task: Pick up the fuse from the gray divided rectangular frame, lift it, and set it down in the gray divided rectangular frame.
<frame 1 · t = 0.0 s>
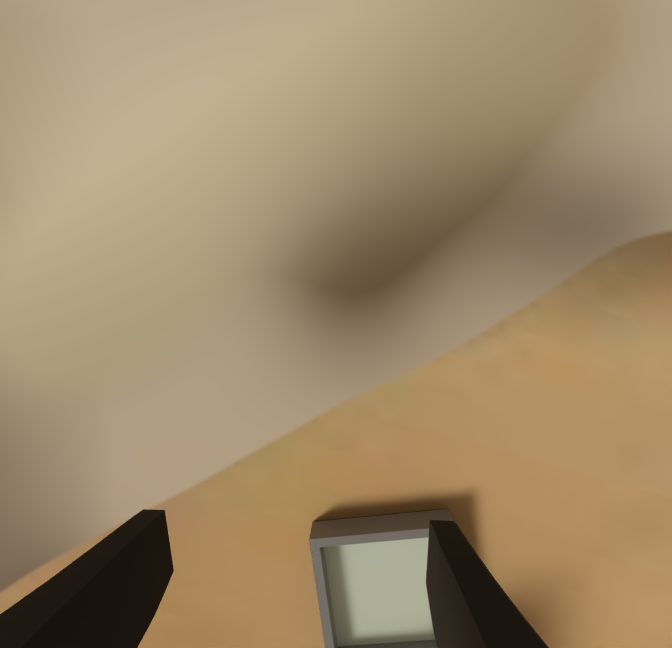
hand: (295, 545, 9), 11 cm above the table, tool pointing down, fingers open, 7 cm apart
gray divided rectangular frame: (396, 639, 20), on the table
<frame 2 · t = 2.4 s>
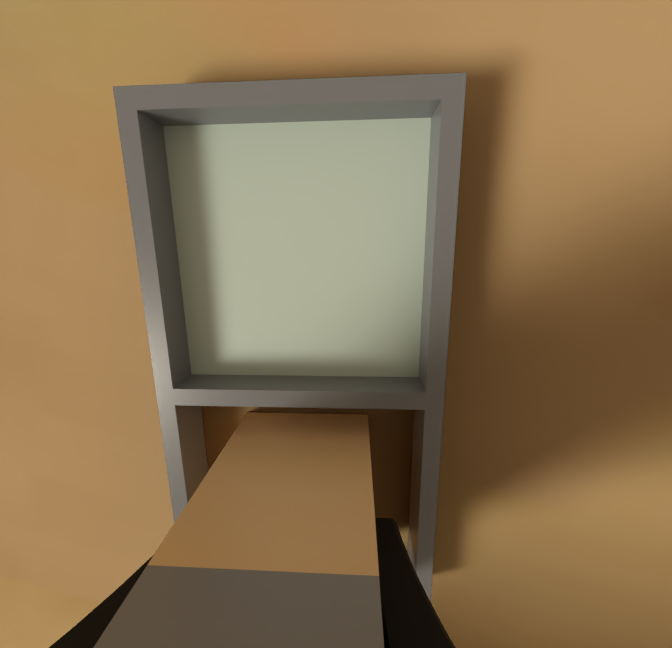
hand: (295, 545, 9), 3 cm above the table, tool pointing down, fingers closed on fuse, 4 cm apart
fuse: (308, 479, 12), resting in gray divided rectangular frame, touching gripper
gray divided rectangular frame: (304, 378, 11), on the table
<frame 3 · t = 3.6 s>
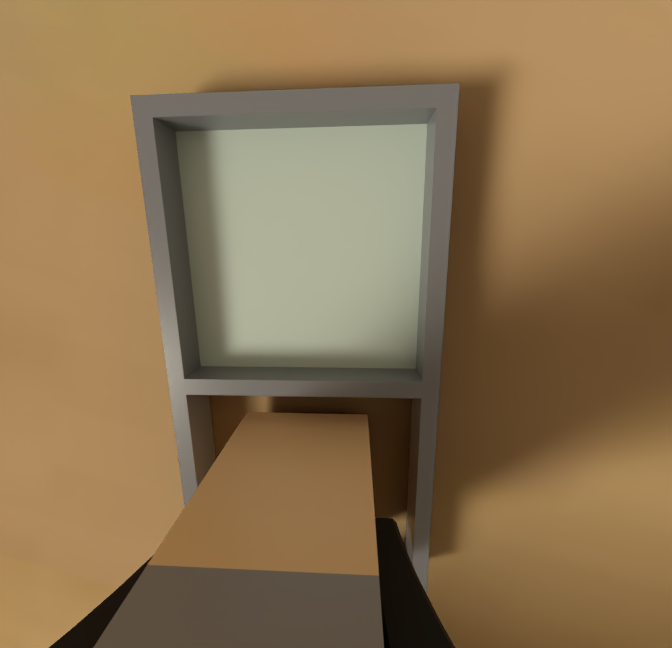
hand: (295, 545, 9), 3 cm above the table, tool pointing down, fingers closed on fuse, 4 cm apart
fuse: (308, 479, 12), point 1 cm above the table, touching gripper
gray divided rectangular frame: (308, 370, 11), on the table
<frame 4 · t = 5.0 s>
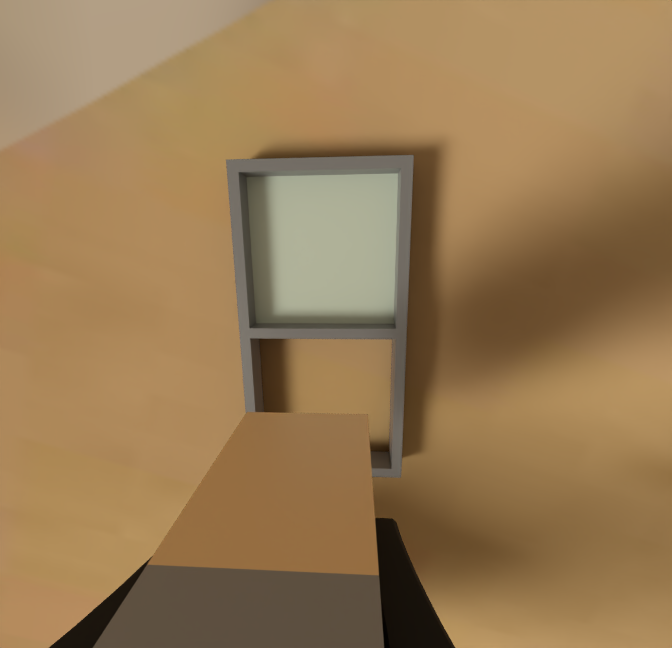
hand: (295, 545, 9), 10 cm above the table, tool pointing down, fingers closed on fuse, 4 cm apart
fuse: (308, 479, 12), point 7 cm above the table, touching gripper
gray divided rectangular frame: (324, 326, 18), on the table
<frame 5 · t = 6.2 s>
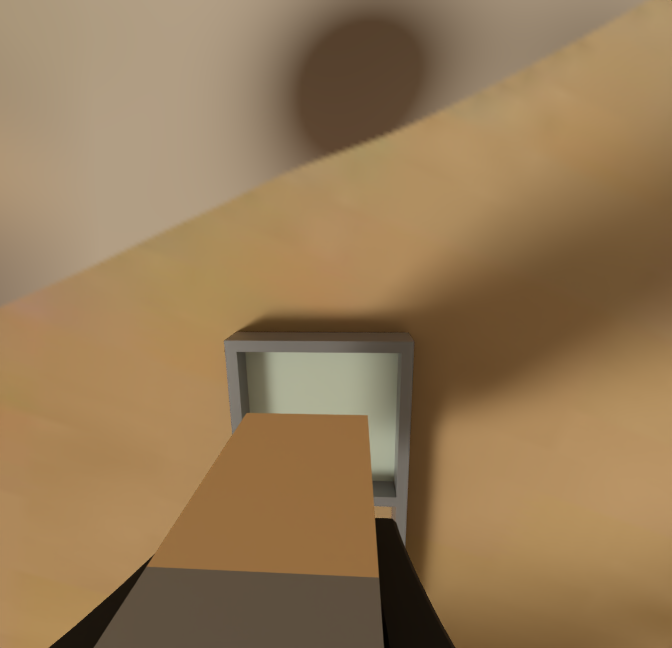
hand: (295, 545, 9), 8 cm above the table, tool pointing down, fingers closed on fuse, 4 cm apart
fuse: (308, 480, 12), point 5 cm above the table, touching gripper
gray divided rectangular frame: (324, 478, 17), on the table
when the fingers open (4 cm above the table, at t = 7.4 s): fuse stays where it is, resting on gray divided rectangular frame.
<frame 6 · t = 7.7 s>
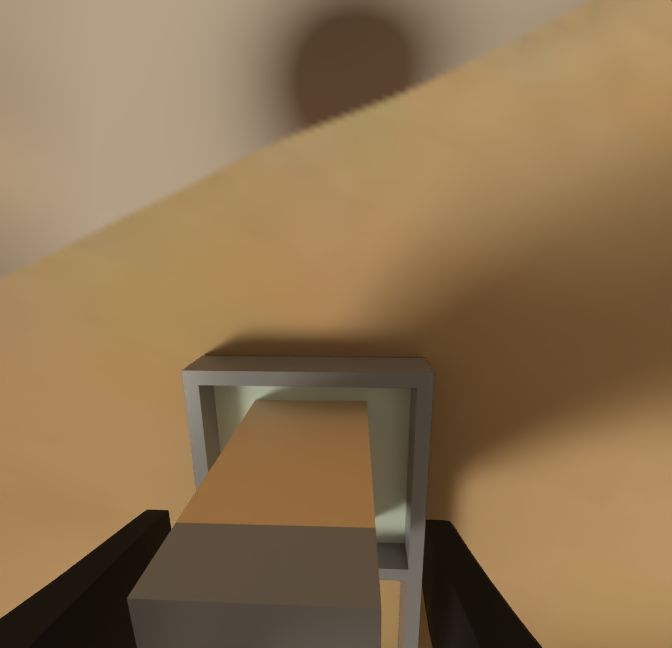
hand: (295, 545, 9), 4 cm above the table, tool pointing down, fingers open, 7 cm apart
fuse: (313, 462, 13), resting on gray divided rectangular frame
gray divided rectangular frame: (316, 536, 14), on the table
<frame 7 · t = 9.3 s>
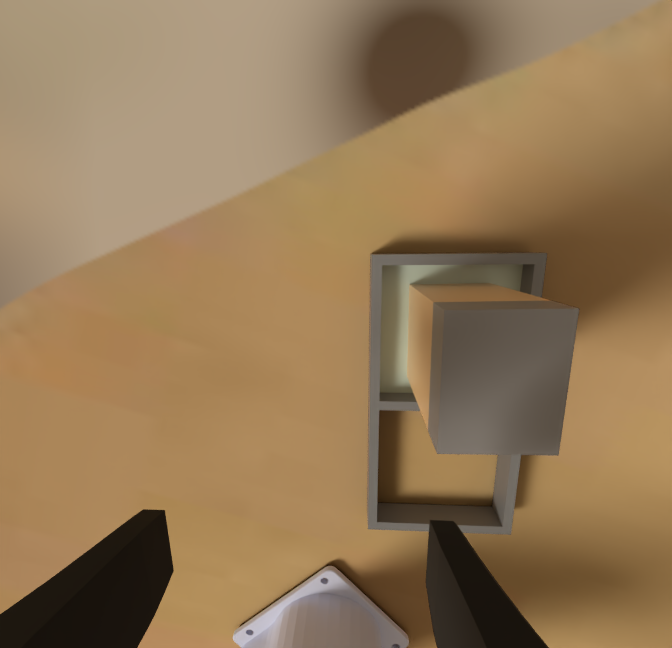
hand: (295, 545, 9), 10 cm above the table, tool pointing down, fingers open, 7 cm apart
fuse: (446, 331, 18), resting on gray divided rectangular frame
gray divided rectangular frame: (440, 394, 19), on the table
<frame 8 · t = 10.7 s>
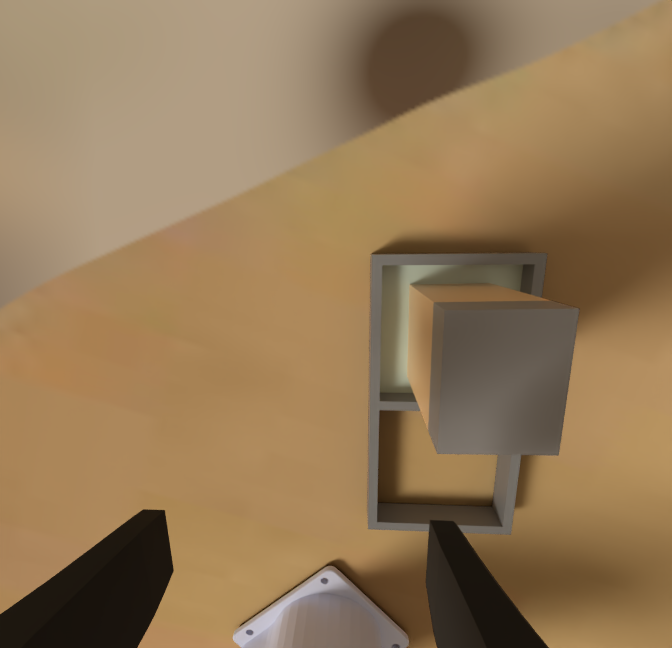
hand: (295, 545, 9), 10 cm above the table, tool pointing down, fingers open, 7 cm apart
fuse: (446, 331, 18), resting on gray divided rectangular frame
gray divided rectangular frame: (440, 394, 19), on the table
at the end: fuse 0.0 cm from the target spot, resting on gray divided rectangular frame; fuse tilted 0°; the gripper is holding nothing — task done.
